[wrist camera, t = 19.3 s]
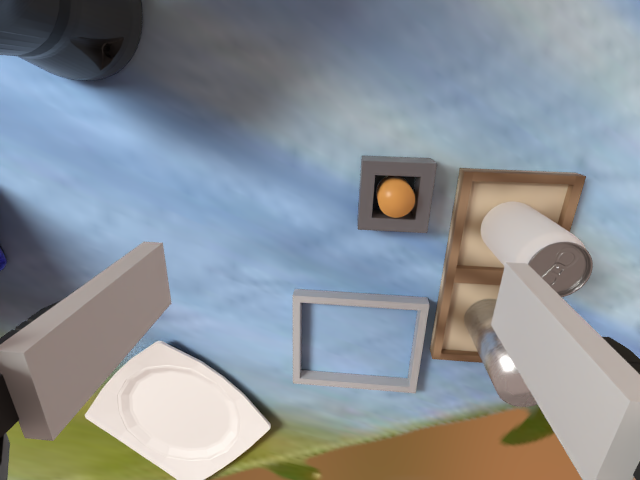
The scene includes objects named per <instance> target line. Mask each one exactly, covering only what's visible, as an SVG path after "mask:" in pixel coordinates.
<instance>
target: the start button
mask: <svg viewBox="0 0 640 480" xmlns="http://www.w3.org/2000/svg"><path fill="white" fill-rule="evenodd" d="M376 195H377V199H378V204H379V207H380V209H381V211H382V212H383V213H384V214H385V215H387V216H389V217H393V218H398V217H402V216H405V215H407V214H408V213H409V212H410V211H411V210H412V208H413V207H414V204H415V194H414V192H413V190H412V188H411V187H410V185H409V183H408V182H407V180H406V179H404V178H403V177H401V176H386V177H385V178H383V179H382V180H381V181H380V182H379V184H378V186H377V189H376Z"/></svg>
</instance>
